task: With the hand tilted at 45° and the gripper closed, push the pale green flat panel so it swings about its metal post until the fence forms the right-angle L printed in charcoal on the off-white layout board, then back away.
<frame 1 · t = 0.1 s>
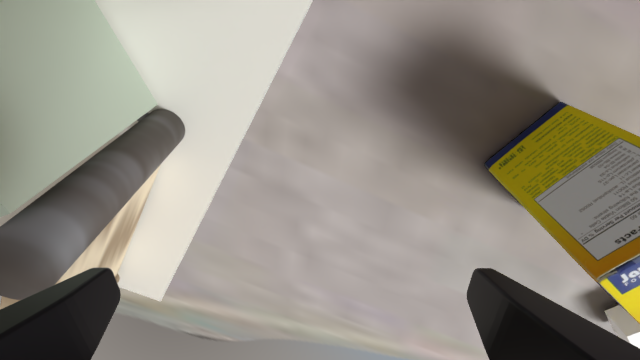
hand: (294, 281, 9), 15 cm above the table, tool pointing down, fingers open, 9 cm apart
supplement box: (541, 158, 23), on the table
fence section: (168, 124, 22), resting on layout board
layout board: (63, 108, 21), on the table
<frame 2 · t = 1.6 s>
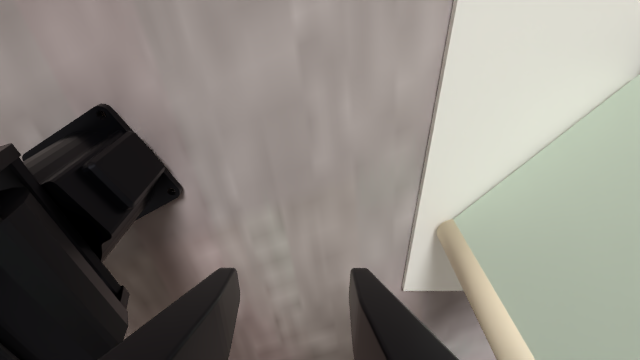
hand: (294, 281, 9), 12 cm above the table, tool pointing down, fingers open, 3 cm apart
pale green flat panel: (599, 230, 15), point 6 cm above the table, hinge at -40.0°
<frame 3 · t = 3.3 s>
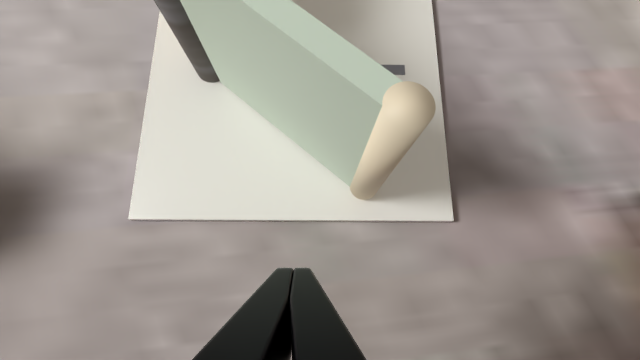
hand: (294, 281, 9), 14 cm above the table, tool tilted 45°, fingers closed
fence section: (215, 71, 25), resting on layout board
pale green flat panel: (291, 90, 18), point 7 cm above the table, hinge at -40.0°
layout board: (296, 47, 26), on the table
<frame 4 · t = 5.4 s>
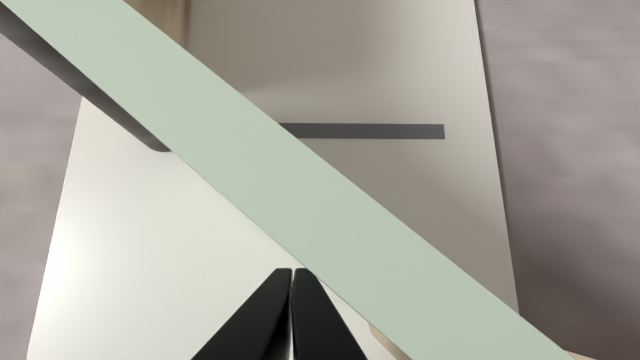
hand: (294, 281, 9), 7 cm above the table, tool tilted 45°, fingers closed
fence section: (169, 133, 18), resting on layout board
pale green flat panel: (272, 210, 10), point 6 cm above the table, hinge at -39.7°, touching gripper
layout board: (287, 96, 18), on the table
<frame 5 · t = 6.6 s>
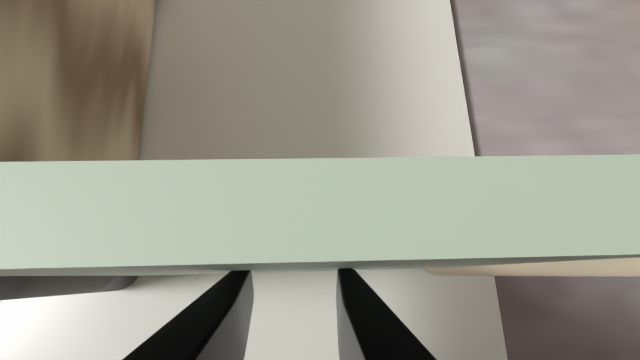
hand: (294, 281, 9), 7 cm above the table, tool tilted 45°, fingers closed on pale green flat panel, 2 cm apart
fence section: (122, 262, 15), resting on layout board
pale green flat panel: (303, 246, 9), point 6 cm above the table, hinge at -0.4°, touching gripper
layout board: (258, 210, 16), on the table
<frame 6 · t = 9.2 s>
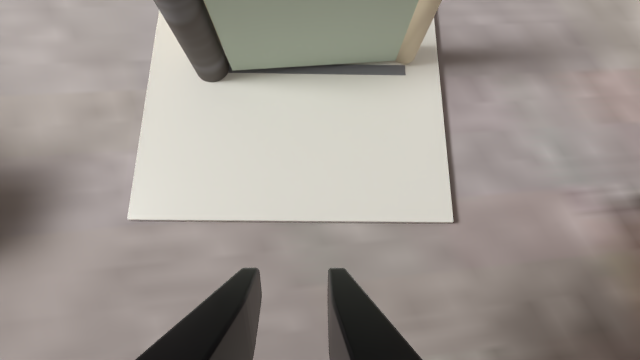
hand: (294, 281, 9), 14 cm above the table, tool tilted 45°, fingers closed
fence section: (214, 71, 25), resting on layout board
layout board: (296, 47, 26), on the table
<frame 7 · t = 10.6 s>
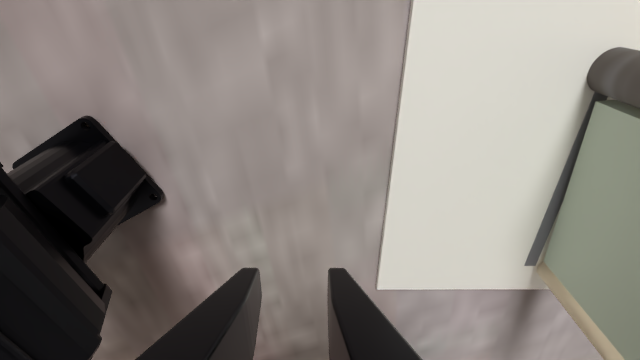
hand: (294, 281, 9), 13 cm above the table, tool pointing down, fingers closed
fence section: (603, 68, 19), resting on layout board
layout board: (598, 166, 22), on the table
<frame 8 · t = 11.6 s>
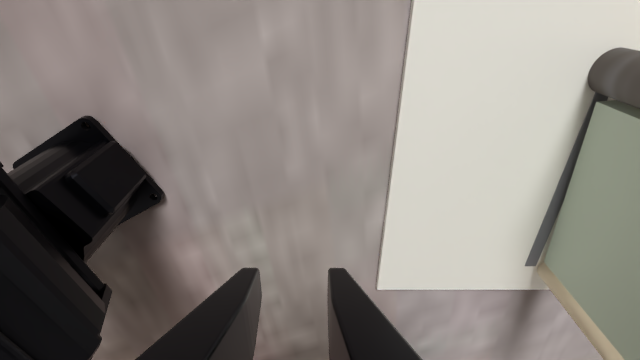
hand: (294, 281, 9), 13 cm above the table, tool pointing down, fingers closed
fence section: (604, 69, 19), resting on layout board
layout board: (599, 166, 22), on the table
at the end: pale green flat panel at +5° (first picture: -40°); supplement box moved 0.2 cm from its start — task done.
